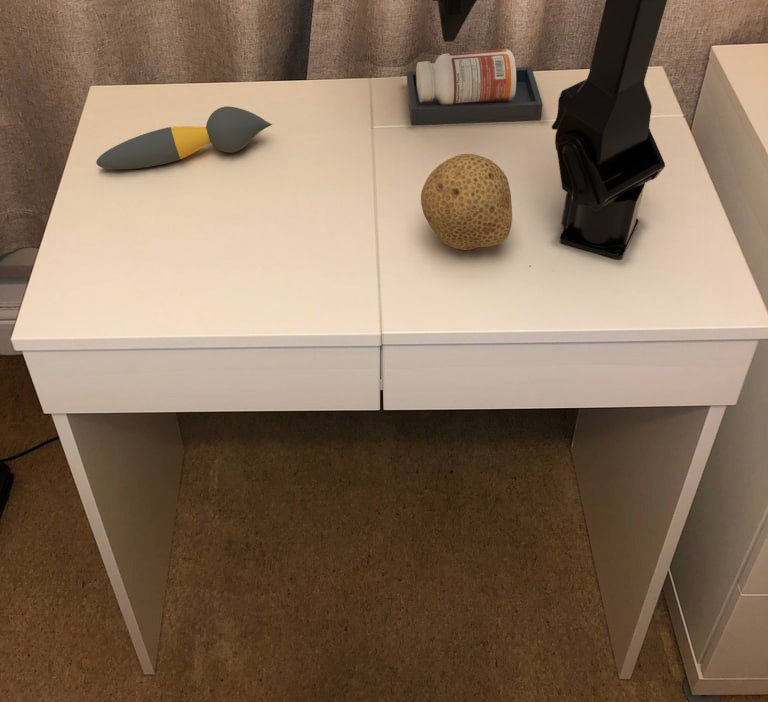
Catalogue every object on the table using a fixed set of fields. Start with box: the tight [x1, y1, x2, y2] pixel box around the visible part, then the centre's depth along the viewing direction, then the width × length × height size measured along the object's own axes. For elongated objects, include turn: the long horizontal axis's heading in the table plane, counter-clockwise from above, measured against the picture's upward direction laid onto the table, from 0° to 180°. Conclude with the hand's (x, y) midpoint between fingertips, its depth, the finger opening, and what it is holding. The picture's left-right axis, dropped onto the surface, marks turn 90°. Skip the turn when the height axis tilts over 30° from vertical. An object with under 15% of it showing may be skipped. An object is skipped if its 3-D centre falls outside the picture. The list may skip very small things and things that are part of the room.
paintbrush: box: [95, 105, 273, 170], centre depth 97 cm, size 20×5×5 cm, turn 111°
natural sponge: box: [420, 153, 513, 251], centre depth 85 cm, size 9×9×10 cm
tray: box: [406, 66, 544, 126], centre depth 105 cm, size 15×8×2 cm, turn 92°
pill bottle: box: [415, 48, 517, 105], centre depth 103 cm, size 6×6×11 cm
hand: (442, 19), depth 93 cm, fingers open, 9 cm apart
